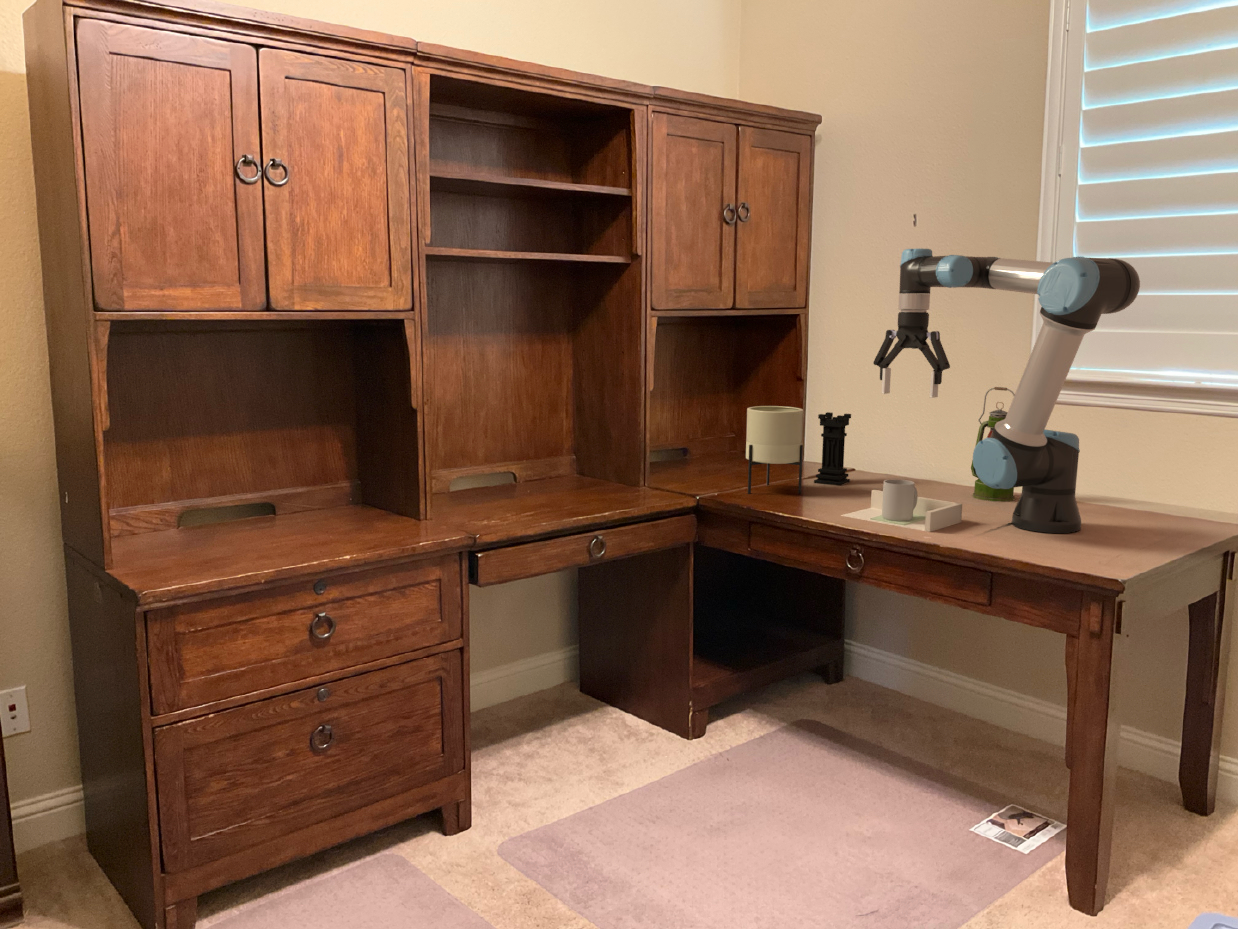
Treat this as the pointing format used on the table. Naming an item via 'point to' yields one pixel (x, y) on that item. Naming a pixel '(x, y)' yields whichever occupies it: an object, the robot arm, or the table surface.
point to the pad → (914, 519)
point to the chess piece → (833, 449)
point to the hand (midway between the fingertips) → (909, 395)
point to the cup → (899, 500)
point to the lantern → (980, 488)
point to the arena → (916, 513)
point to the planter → (774, 438)
